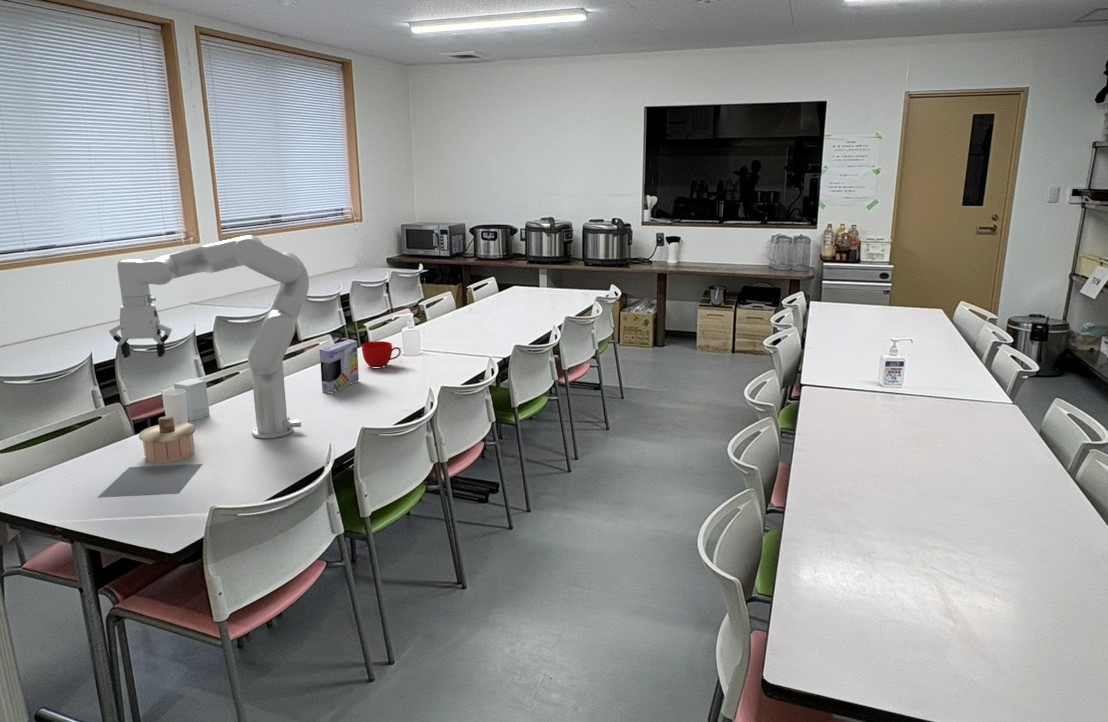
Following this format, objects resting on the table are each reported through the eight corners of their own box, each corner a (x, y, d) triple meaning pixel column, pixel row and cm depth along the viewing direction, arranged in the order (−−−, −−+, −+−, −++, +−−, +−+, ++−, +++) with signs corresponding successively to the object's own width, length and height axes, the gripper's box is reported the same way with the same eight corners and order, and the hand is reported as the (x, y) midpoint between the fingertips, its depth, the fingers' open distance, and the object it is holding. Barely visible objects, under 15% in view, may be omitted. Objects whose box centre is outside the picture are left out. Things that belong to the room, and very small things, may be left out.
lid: (202, 424, 224) (200, 409, 222) (186, 441, 209) (184, 425, 208) (150, 425, 221) (148, 411, 220) (130, 443, 207) (128, 428, 206)
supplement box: (210, 414, 253) (206, 380, 250) (192, 421, 247) (188, 386, 243) (195, 411, 256) (191, 377, 253) (177, 417, 250) (173, 383, 246)
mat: (202, 465, 210) (202, 463, 210) (178, 494, 191) (178, 493, 191) (129, 468, 207) (129, 467, 207) (97, 498, 188) (97, 497, 188)
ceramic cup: (398, 370, 312) (397, 348, 309) (359, 370, 312) (358, 347, 309) (404, 363, 324) (403, 341, 322) (367, 362, 324) (366, 341, 322)
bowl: (200, 446, 224) (197, 425, 222) (185, 462, 212) (183, 440, 210) (155, 448, 222) (152, 426, 221) (138, 464, 210) (135, 442, 208)
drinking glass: (181, 440, 229) (175, 395, 225) (162, 438, 230) (157, 393, 227) (195, 433, 236) (190, 389, 232) (177, 431, 237) (172, 387, 233)
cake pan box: (330, 394, 278) (326, 350, 273) (319, 393, 279) (316, 349, 275) (360, 381, 295) (358, 339, 290) (350, 380, 297) (347, 338, 292)
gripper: (172, 298, 220) (178, 352, 224) (111, 299, 217) (119, 354, 222) (162, 302, 213) (169, 358, 217) (99, 303, 210) (108, 360, 214)
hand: (144, 356), depth 219 cm, fingers open, 9 cm apart
